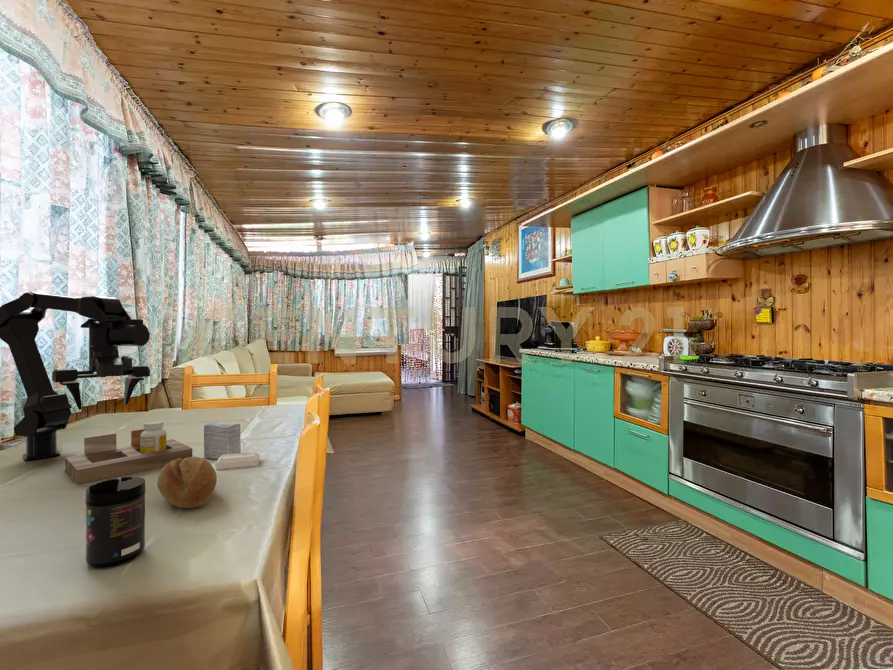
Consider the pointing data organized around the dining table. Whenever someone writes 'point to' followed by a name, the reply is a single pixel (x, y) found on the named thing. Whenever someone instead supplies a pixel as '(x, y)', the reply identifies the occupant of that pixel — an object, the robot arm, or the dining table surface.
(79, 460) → the socket board
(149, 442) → the supplement bottle
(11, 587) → the dining table surface
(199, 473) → the bread roll
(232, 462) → the soap bar
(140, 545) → the supplement container
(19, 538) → the dining table surface
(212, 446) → the medicine box
